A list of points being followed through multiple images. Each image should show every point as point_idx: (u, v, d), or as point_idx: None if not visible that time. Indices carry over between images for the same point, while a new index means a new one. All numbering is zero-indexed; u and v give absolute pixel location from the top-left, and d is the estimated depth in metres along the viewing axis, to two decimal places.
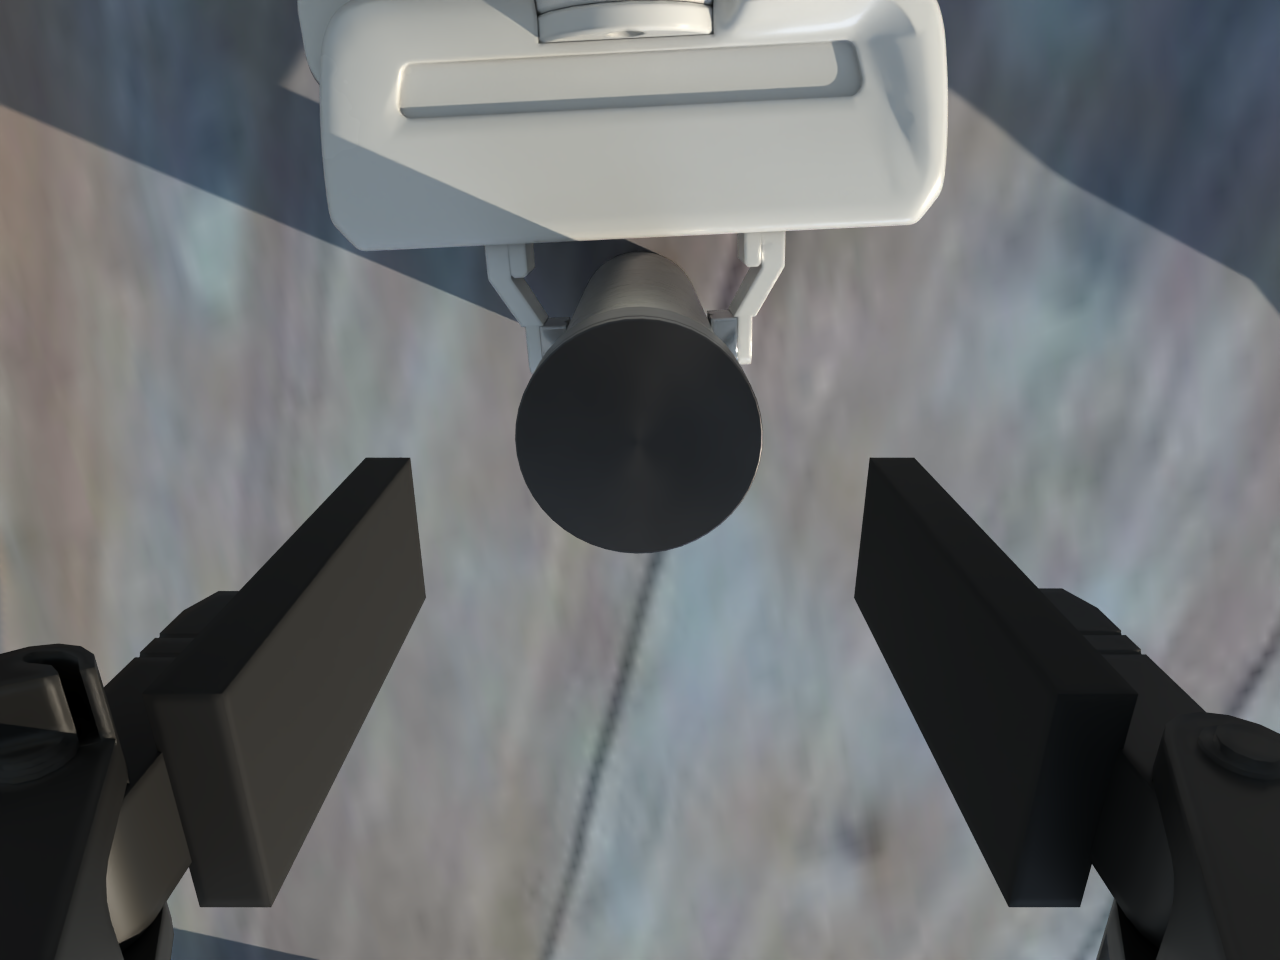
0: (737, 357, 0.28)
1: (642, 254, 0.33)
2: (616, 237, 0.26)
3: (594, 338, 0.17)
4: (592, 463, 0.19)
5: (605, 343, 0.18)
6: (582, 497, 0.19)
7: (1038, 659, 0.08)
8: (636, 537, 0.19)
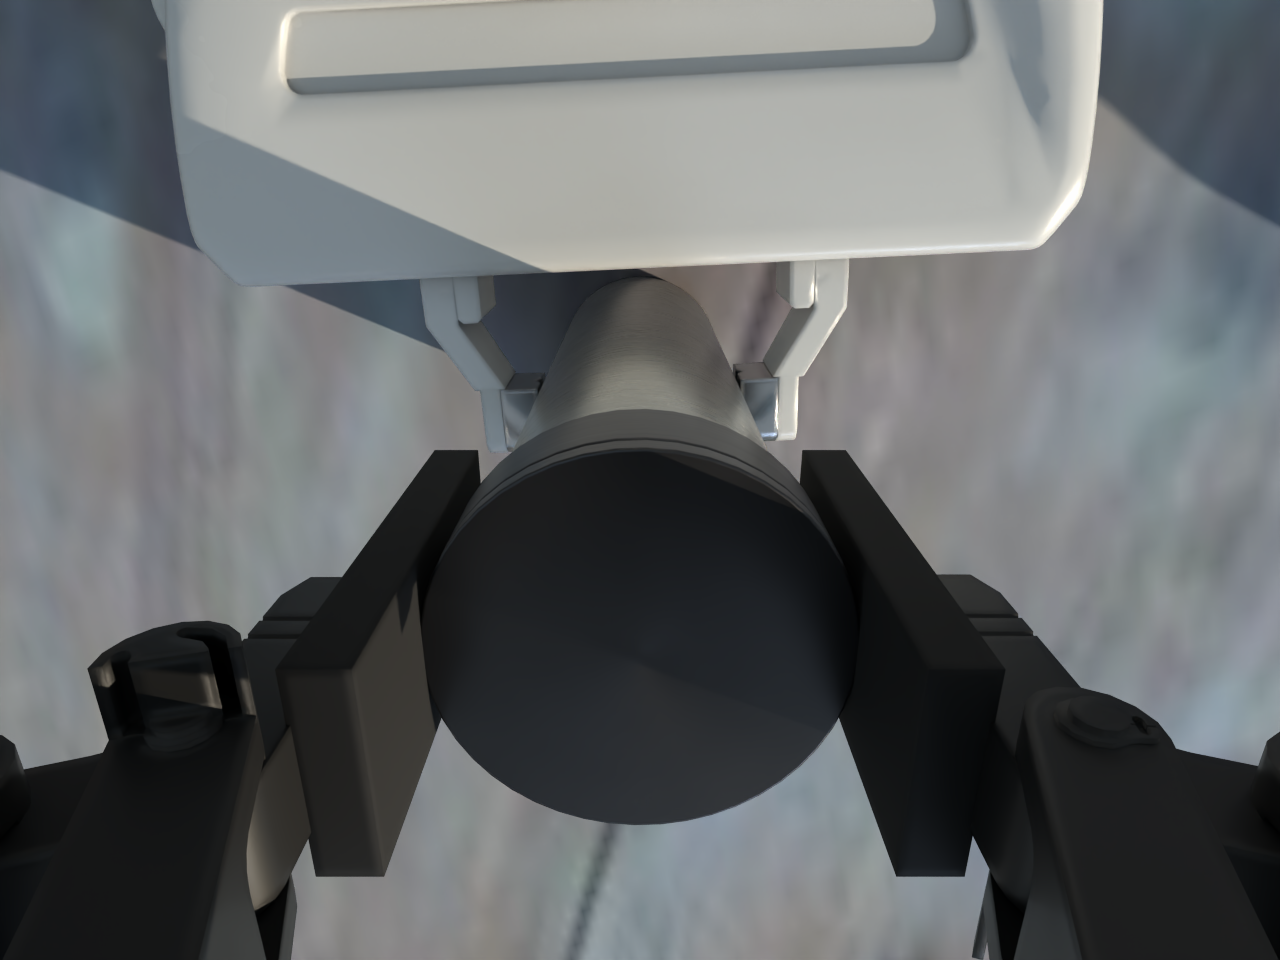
0: (777, 432, 0.20)
1: (644, 282, 0.25)
2: (607, 267, 0.18)
3: (557, 482, 0.09)
4: (558, 688, 0.11)
5: (578, 491, 0.10)
6: (542, 740, 0.11)
7: (918, 638, 0.08)
8: (635, 801, 0.11)
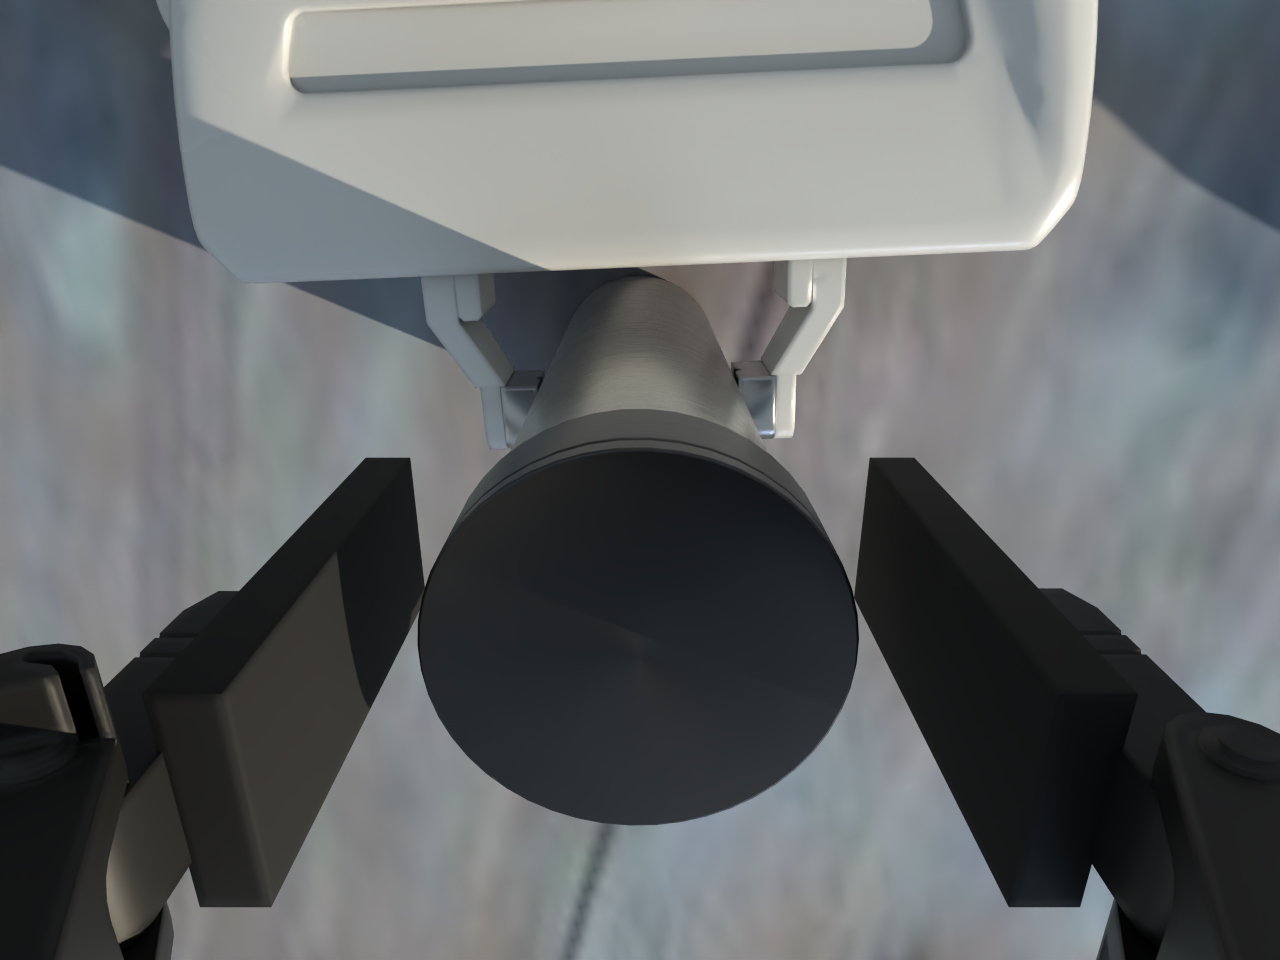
0: (774, 429, 0.21)
1: (643, 280, 0.25)
2: (606, 266, 0.18)
3: (439, 673, 0.10)
4: (651, 730, 0.11)
5: (451, 660, 0.10)
6: (705, 759, 0.11)
7: (1039, 659, 0.08)
8: (810, 703, 0.11)
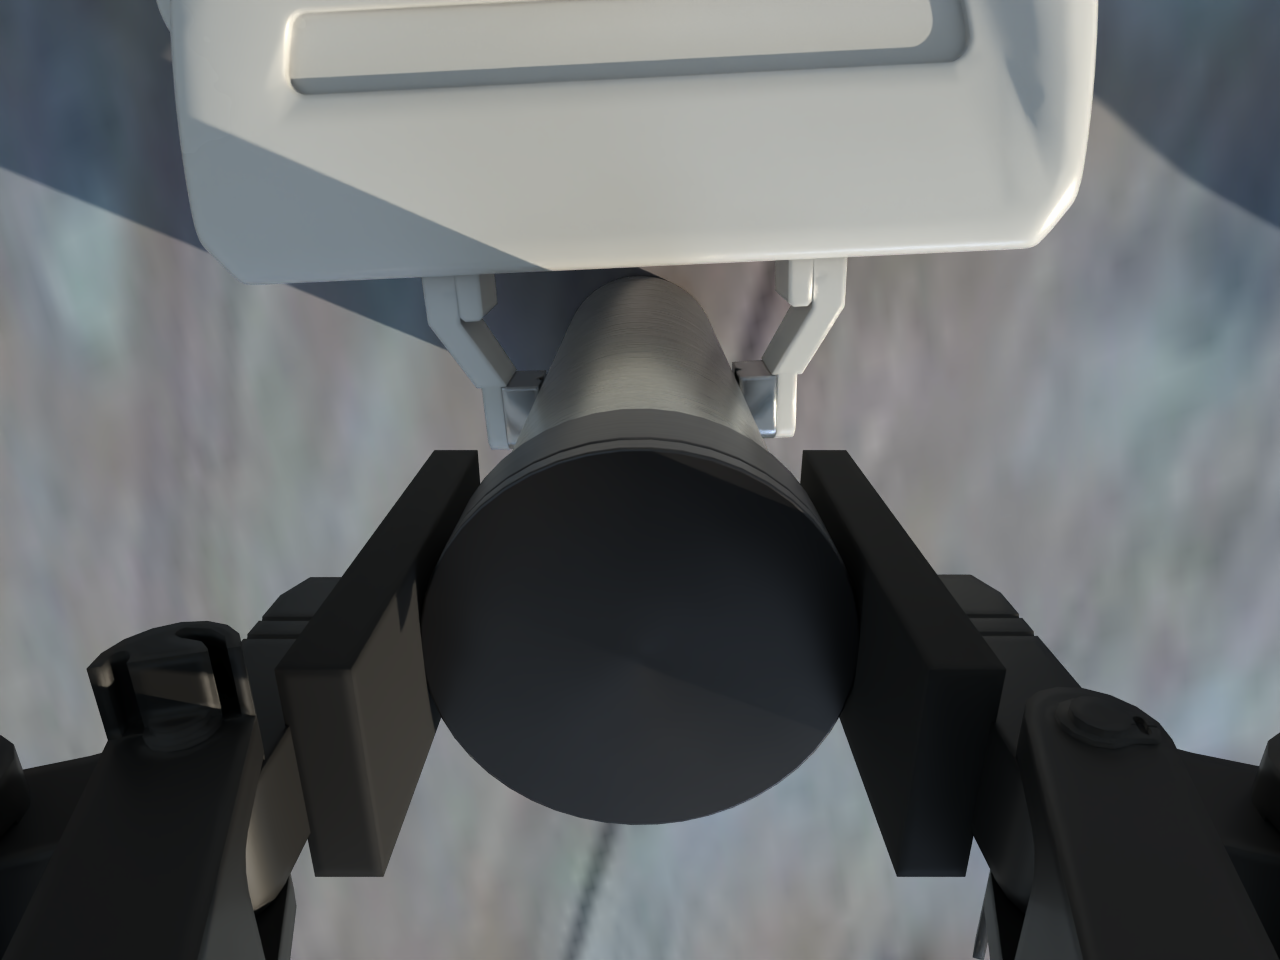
0: (775, 429, 0.21)
1: (644, 280, 0.25)
2: (607, 266, 0.18)
3: (441, 673, 0.10)
4: (654, 730, 0.11)
5: (453, 660, 0.10)
6: (708, 758, 0.11)
7: (919, 638, 0.08)
8: (812, 702, 0.11)
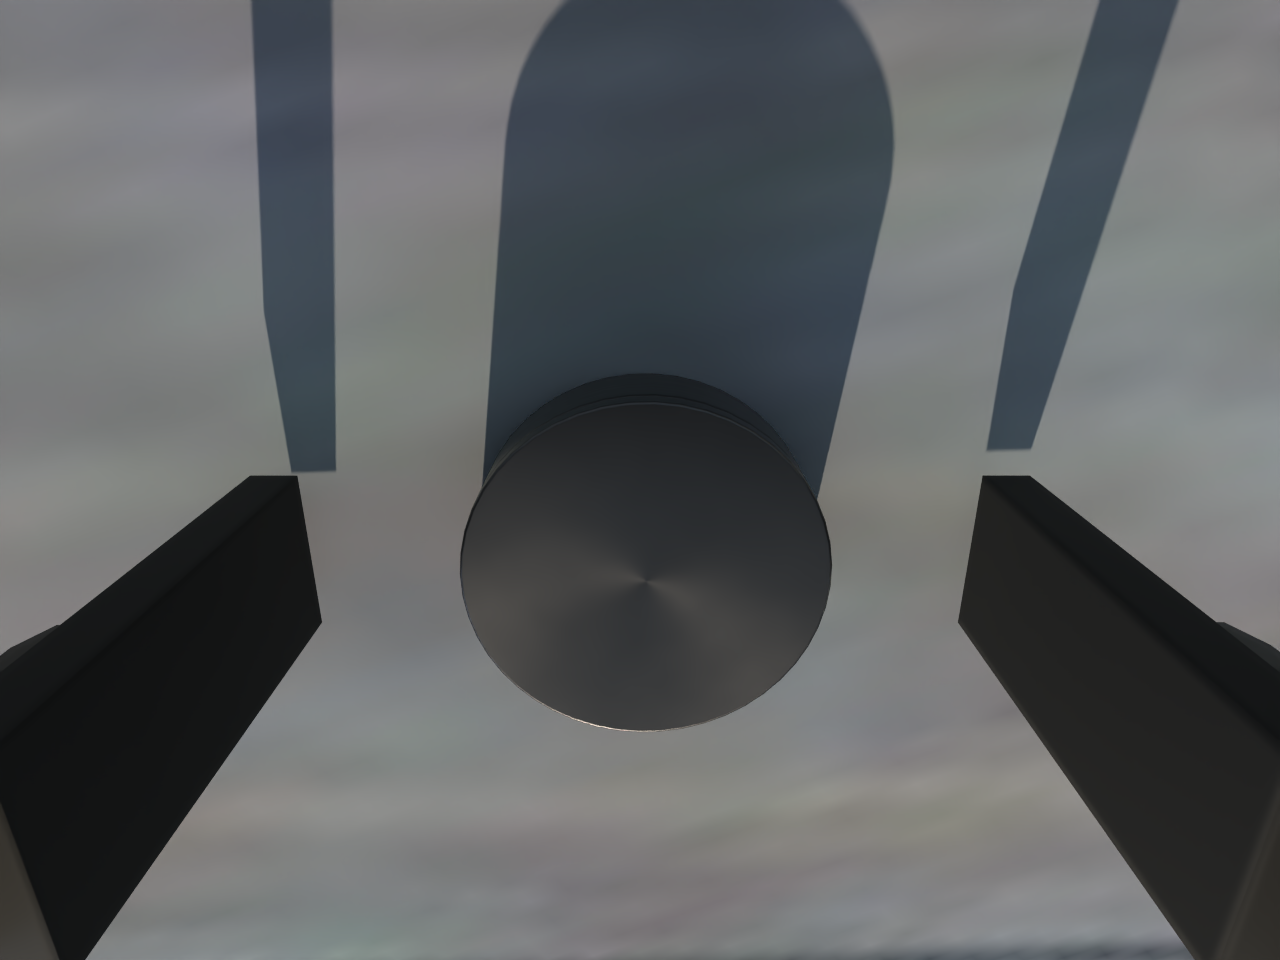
0: None
1: None
2: None
3: (478, 598, 0.12)
4: (658, 646, 0.13)
5: (488, 586, 0.12)
6: (704, 672, 0.13)
7: (1258, 713, 0.07)
8: (792, 621, 0.13)
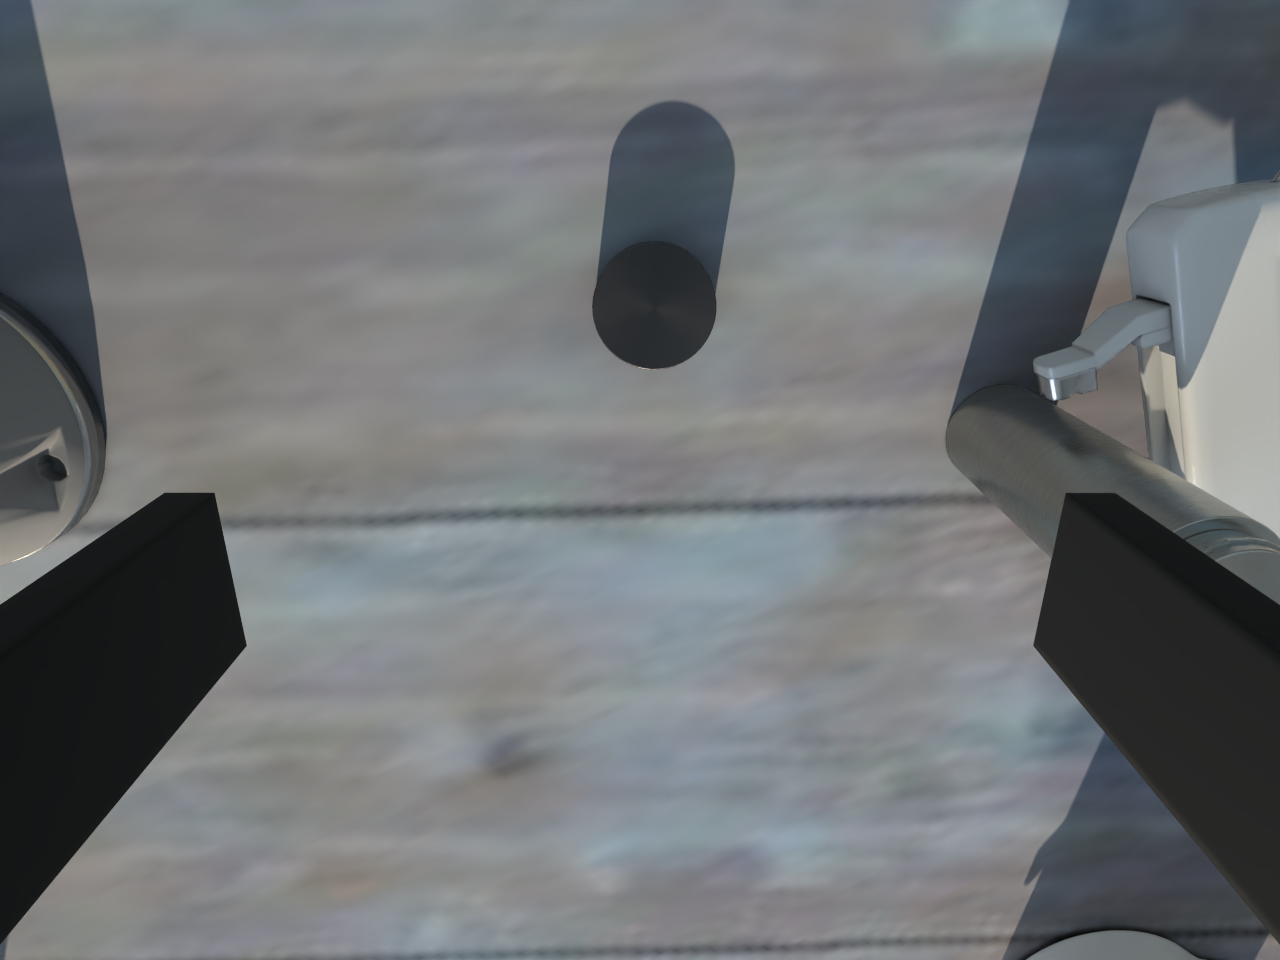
0: None
1: None
2: (1190, 448, 0.32)
3: (598, 314, 0.37)
4: (658, 334, 0.37)
5: (601, 310, 0.37)
6: (674, 344, 0.37)
7: None
8: (703, 324, 0.37)
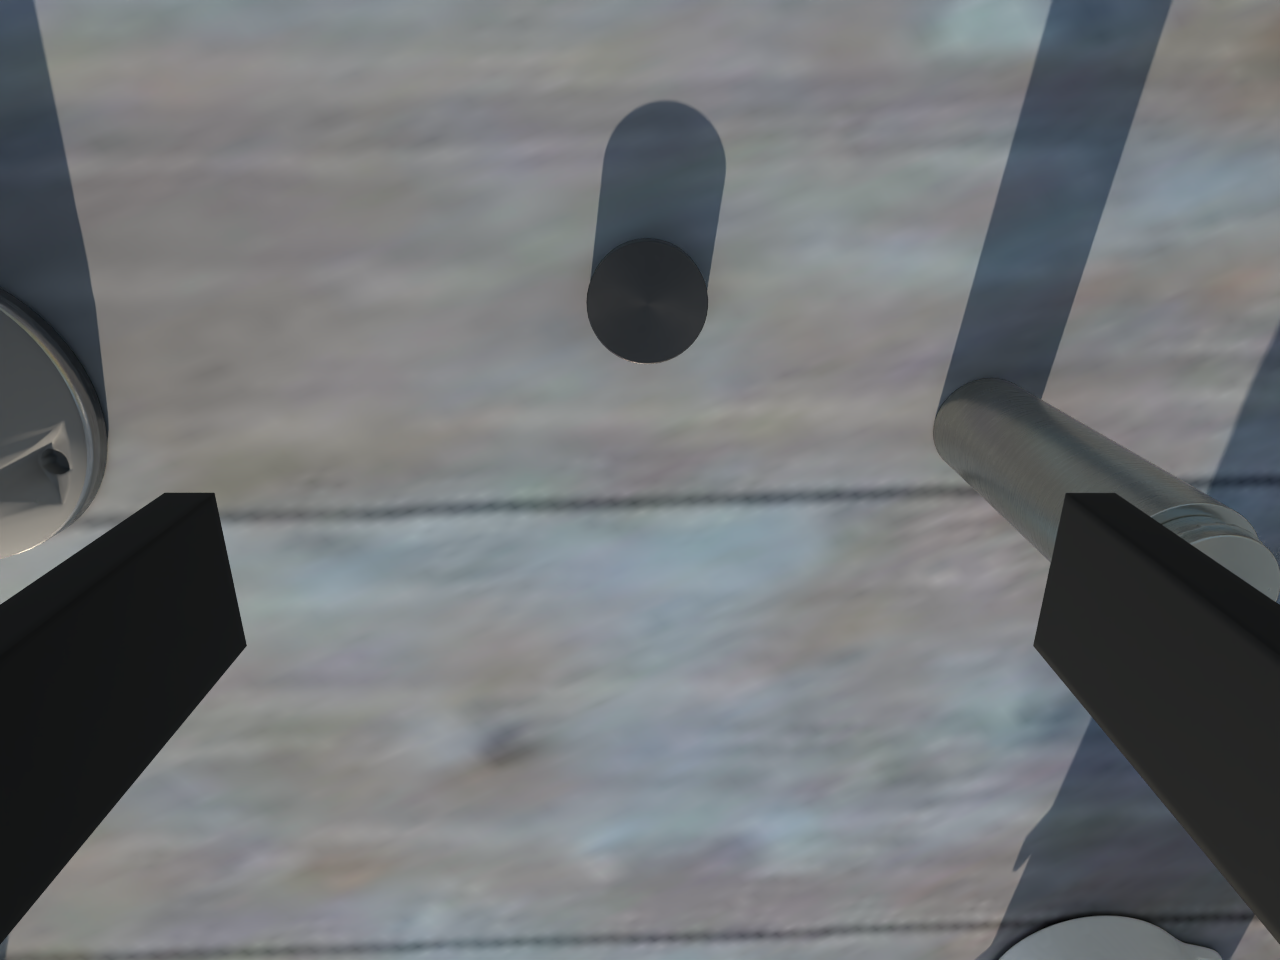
0: None
1: None
2: None
3: (592, 310, 0.38)
4: (651, 329, 0.38)
5: (595, 306, 0.38)
6: (667, 339, 0.38)
7: None
8: (695, 319, 0.38)
